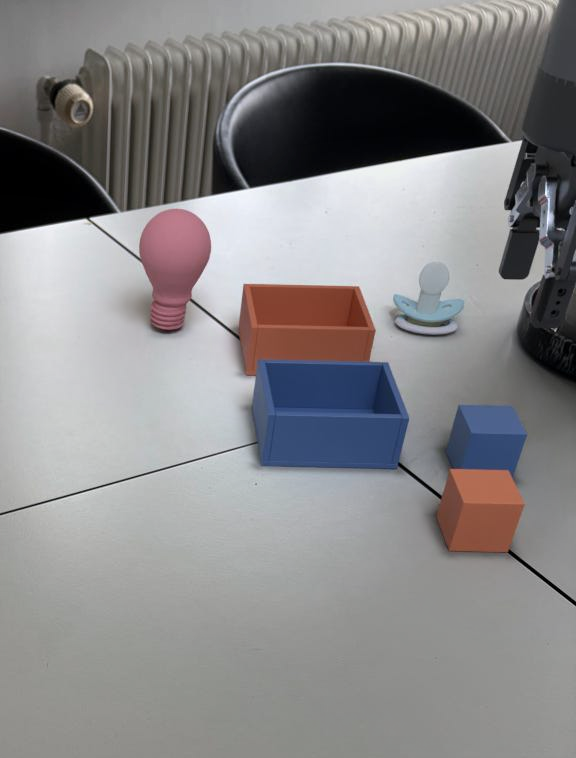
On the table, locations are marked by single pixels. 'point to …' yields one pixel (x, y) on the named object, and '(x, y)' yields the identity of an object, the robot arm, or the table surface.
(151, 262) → the light bulb
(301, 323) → the terracotta bin
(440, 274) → the pacifier
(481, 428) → the blue block
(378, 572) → the table surface
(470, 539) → the terracotta block
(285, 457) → the blue bin
